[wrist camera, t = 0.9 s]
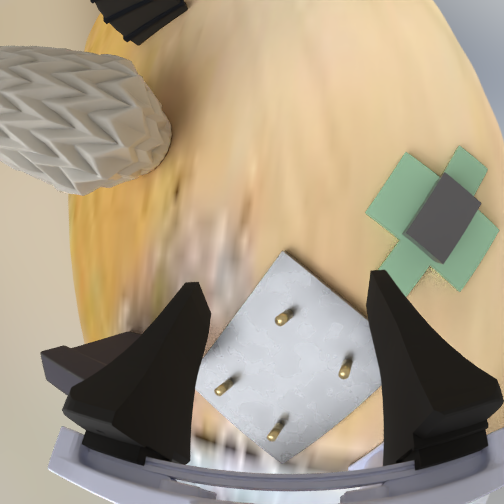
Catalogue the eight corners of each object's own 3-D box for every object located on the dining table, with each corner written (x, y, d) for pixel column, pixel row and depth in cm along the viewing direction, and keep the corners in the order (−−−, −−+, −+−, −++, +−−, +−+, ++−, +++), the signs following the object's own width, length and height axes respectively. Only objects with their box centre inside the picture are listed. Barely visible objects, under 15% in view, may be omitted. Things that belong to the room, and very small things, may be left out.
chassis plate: (408, 352, 24) (412, 366, 21) (284, 459, 30) (274, 476, 26) (285, 250, 29) (273, 251, 26) (190, 377, 34) (174, 387, 31)
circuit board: (511, 198, 20) (532, 190, 15) (431, 323, 24) (440, 338, 19) (423, 125, 23) (430, 104, 19) (340, 248, 27) (334, 249, 23)
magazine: (117, 43, 38) (89, -14, 23) (187, 19, 39) (174, -45, 24) (118, 55, 38) (87, -5, 23) (192, 29, 38) (178, -38, 23)
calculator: (130, 354, 39) (46, 385, 25) (127, 326, 39) (38, 351, 25) (191, 372, 34) (100, 423, 21) (189, 341, 34) (91, 383, 21)
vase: (130, 88, 38) (-50, 22, 8) (214, 89, 32) (-27, -44, 2) (97, 189, 41) (-100, 168, 11) (171, 218, 35) (-123, 200, 5)
